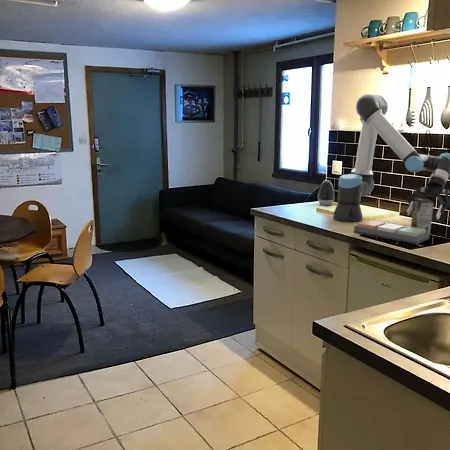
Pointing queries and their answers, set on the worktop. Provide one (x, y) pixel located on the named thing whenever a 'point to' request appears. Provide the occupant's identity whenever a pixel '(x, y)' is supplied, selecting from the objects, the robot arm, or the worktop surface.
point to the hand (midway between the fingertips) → (422, 215)
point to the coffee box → (422, 213)
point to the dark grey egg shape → (326, 193)
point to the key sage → (412, 231)
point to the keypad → (392, 235)
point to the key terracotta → (370, 224)
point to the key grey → (390, 227)
